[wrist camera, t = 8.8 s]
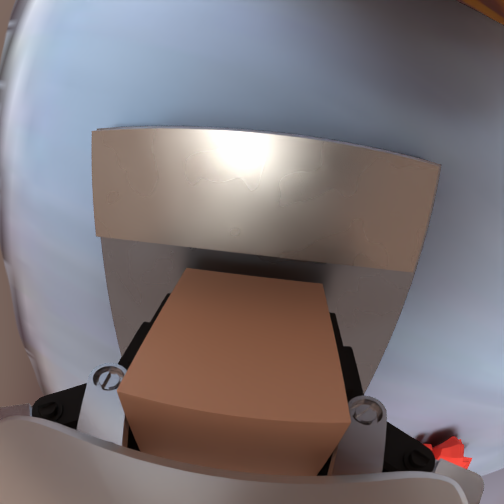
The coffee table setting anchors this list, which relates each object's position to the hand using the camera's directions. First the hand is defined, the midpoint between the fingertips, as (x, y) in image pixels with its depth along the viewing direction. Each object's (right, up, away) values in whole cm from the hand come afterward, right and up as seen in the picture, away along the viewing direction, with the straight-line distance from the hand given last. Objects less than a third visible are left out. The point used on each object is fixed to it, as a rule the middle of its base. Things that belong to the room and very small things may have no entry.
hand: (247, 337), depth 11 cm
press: (0, -1, +4) cm, 4 cm away
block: (0, 0, +1) cm, 1 cm away
